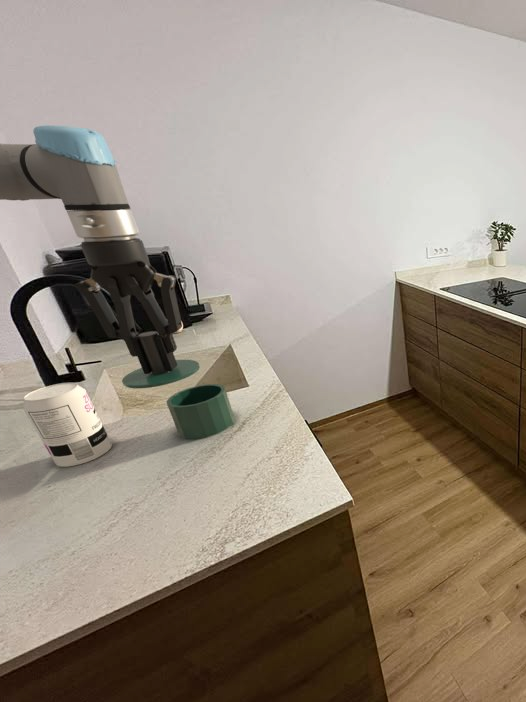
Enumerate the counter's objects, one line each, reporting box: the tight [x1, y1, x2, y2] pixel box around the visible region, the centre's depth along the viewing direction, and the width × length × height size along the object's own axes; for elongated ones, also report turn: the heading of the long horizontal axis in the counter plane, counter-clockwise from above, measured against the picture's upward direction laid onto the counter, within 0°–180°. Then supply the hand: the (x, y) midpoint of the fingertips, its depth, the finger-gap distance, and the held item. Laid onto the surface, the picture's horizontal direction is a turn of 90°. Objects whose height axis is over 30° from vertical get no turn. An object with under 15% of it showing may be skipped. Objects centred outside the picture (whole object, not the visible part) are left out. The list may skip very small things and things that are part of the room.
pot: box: [166, 383, 236, 440], centre depth 83 cm, size 10×10×8 cm
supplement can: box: [22, 382, 113, 468], centre depth 73 cm, size 8×8×15 cm
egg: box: [174, 320, 184, 334], centre depth 145 cm, size 5×5×7 cm
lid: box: [121, 330, 201, 389], centre depth 69 cm, size 11×11×9 cm
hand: (161, 369), depth 70 cm, fingers closed on lid, 3 cm apart
